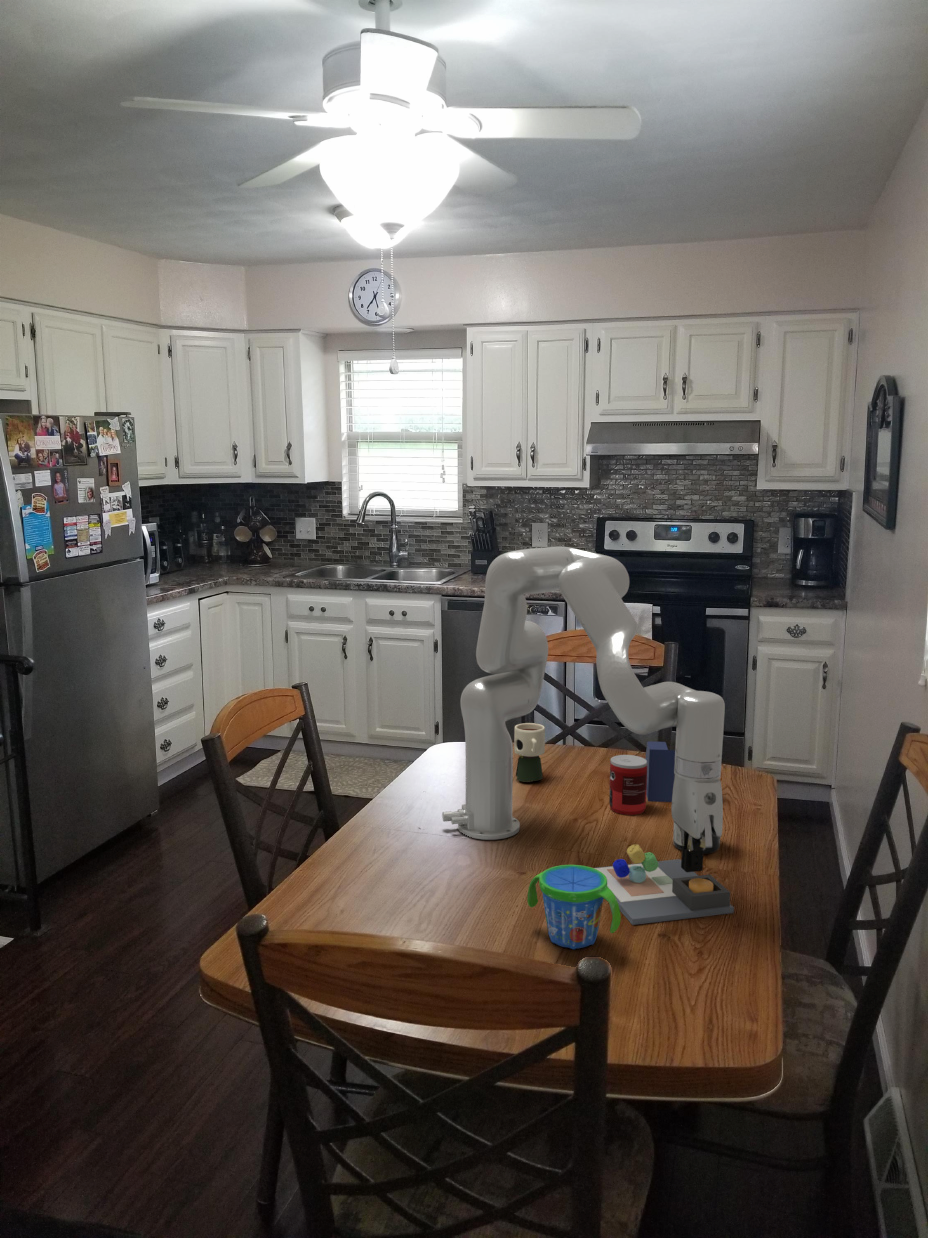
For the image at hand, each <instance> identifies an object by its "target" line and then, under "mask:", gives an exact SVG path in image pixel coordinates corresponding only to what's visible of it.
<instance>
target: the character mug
mask: <svg viewBox="0 0 928 1238" xmlns="http://www.w3.org/2000/svg"><path fill="white" fill-rule="evenodd" d="M545 729H546V726H544V725H543V724H539V723H533V722H525V723H518V724H516V725H514V736H513V737H514V746H513V749H514V750H513V752H514V753H515V754H516V755H519V756H518V758H517V765H516V769H515V770H516V772H515V778H516V780H517V781H519V782H523V783H524V782H525V783H528V782H529V783H532V782H535V781H541V780H542V779H543V778H544V776H543V768H542V760H541V759H542V758H541V757H540V756H542V755H543V754H545V749H546V748H545V747H546V745H545V744H546V742H545V741H546V740H545V739H546V738H545V737H546V730H545Z"/></svg>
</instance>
